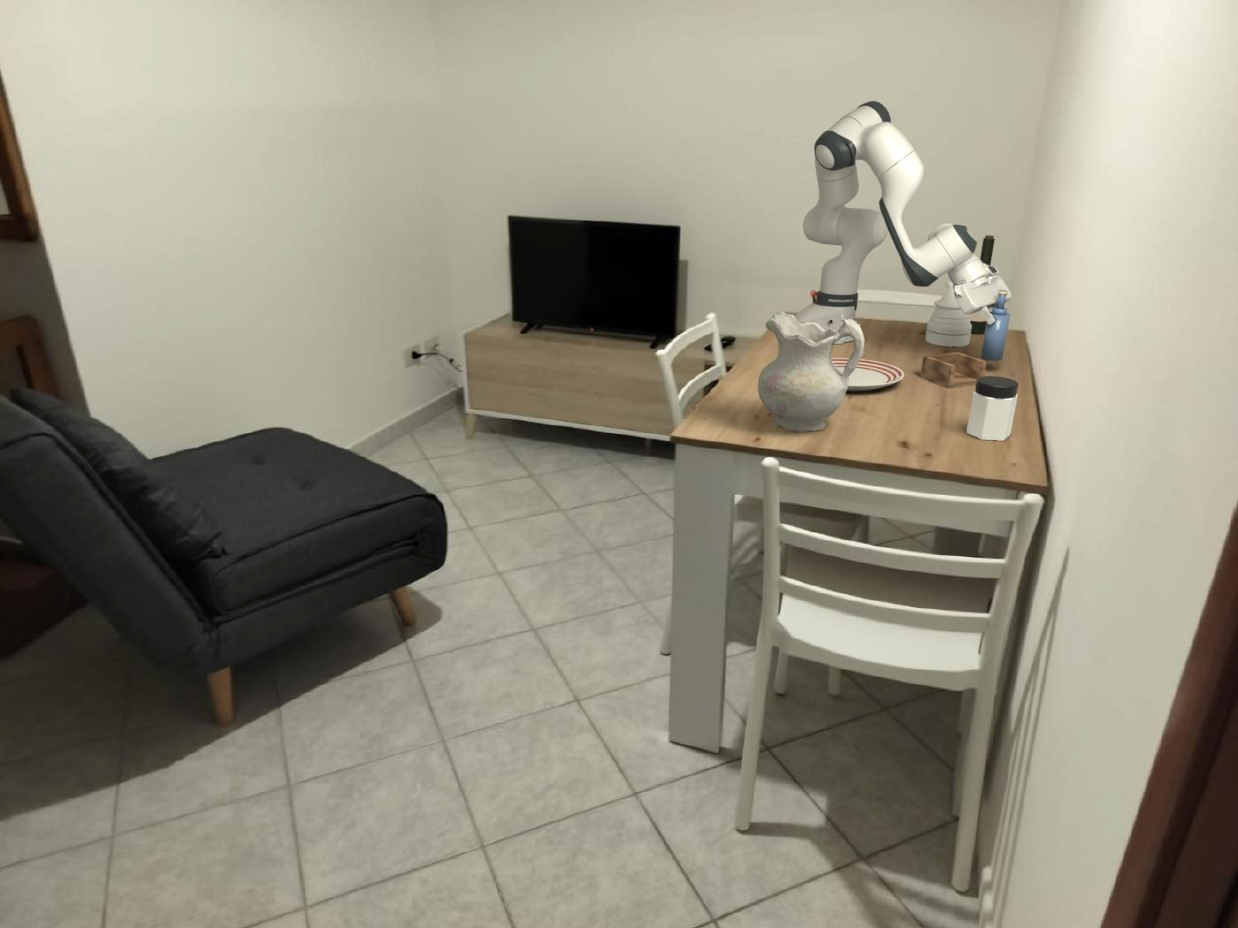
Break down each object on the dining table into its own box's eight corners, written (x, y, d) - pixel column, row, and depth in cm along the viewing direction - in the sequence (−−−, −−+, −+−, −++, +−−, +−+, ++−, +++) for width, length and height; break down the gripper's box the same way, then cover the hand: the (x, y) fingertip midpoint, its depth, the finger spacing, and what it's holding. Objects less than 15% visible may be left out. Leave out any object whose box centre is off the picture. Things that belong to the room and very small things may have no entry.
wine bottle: (983, 328, 272) (999, 234, 260) (991, 334, 264) (1008, 237, 252) (956, 328, 272) (971, 234, 261) (964, 334, 265) (979, 237, 253)
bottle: (984, 360, 222) (995, 293, 215) (977, 355, 227) (989, 289, 220) (1005, 360, 221) (1017, 293, 214) (998, 355, 226) (1010, 289, 219)
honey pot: (916, 339, 258) (924, 281, 251) (942, 334, 265) (951, 277, 258) (951, 348, 248) (960, 288, 241) (978, 343, 255) (988, 283, 248)
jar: (975, 424, 186) (984, 373, 181) (1013, 433, 181) (1024, 380, 176) (961, 435, 180) (970, 382, 175) (1000, 444, 175) (1011, 389, 170)
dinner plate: (774, 382, 217) (775, 370, 216) (827, 362, 235) (828, 350, 234) (871, 405, 200) (873, 392, 198) (920, 381, 218) (922, 368, 217)
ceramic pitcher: (852, 419, 193) (863, 311, 185) (855, 442, 175) (868, 323, 167) (758, 412, 197) (765, 307, 190) (752, 434, 179) (759, 318, 172)
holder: (982, 383, 215) (986, 361, 213) (948, 388, 211) (951, 366, 209) (953, 372, 224) (957, 352, 222) (920, 377, 220) (923, 356, 218)
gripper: (959, 276, 214) (989, 320, 211) (999, 266, 226) (1028, 308, 223) (941, 290, 219) (970, 334, 216) (981, 280, 231) (1009, 321, 228)
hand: (1000, 320), depth 220 cm, fingers closed on bottle, 5 cm apart
